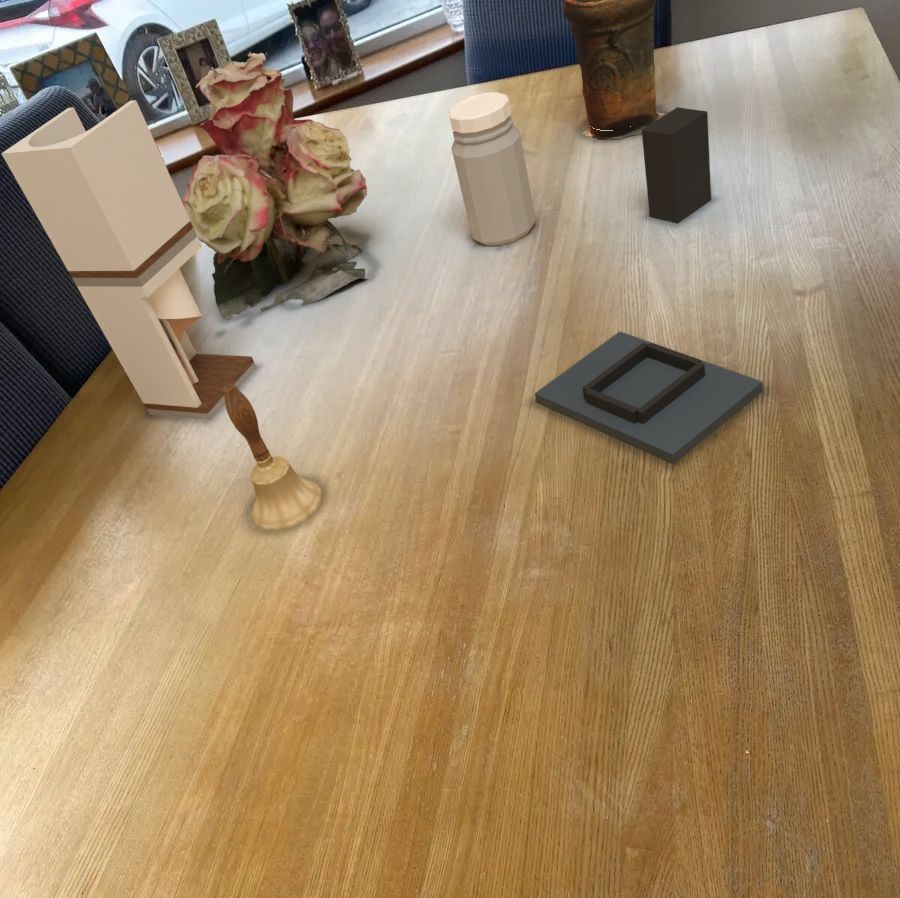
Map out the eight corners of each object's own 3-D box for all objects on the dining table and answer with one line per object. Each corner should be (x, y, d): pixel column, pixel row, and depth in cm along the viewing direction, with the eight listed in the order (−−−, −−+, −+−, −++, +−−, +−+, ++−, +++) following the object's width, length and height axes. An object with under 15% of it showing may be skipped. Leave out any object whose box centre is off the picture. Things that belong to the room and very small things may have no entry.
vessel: (658, 95, 159) (647, -41, 145) (677, 125, 149) (668, -18, 135) (574, 119, 161) (555, -14, 147) (587, 150, 151) (569, 11, 137)
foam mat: (763, 393, 99) (762, 369, 96) (673, 466, 94) (671, 442, 92) (621, 342, 111) (618, 319, 109) (536, 404, 107) (532, 382, 105)
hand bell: (240, 530, 104) (176, 413, 93) (270, 481, 109) (213, 364, 98) (305, 532, 101) (247, 411, 90) (333, 481, 106) (282, 361, 95)
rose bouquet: (215, 339, 137) (115, 128, 116) (240, 248, 157) (159, 54, 136) (385, 298, 133) (313, 71, 112) (388, 210, 153) (328, 5, 132)
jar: (467, 254, 136) (436, 126, 124) (477, 221, 143) (449, 97, 130) (533, 244, 133) (508, 112, 121) (540, 211, 140) (518, 83, 127)
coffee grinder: (211, 421, 122) (70, 147, 97) (150, 415, 126) (1, 153, 102) (257, 369, 128) (136, 100, 103) (197, 366, 133) (68, 108, 108)
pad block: (711, 201, 129) (707, 111, 121) (677, 225, 127) (671, 134, 119) (683, 195, 133) (677, 106, 124) (649, 218, 130) (641, 129, 122)
